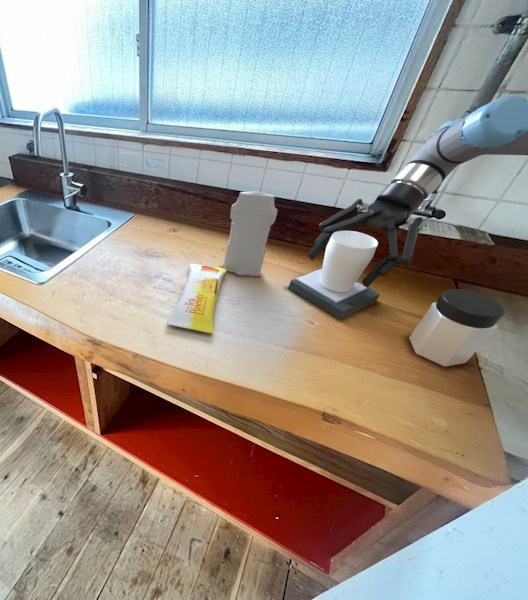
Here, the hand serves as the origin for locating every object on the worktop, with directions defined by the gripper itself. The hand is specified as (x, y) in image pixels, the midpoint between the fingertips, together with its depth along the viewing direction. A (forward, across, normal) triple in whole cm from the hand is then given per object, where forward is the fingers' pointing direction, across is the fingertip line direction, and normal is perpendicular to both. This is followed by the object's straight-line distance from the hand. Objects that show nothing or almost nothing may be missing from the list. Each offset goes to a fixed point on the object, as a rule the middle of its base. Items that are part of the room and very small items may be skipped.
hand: (335, 270), depth 73 cm
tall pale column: (+12, +19, 0) cm, 22 cm away
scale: (+4, 0, -7) cm, 8 cm away
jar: (+3, -22, -8) cm, 24 cm away
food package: (+24, +15, +12) cm, 31 cm away
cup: (+2, 0, -5) cm, 6 cm away
